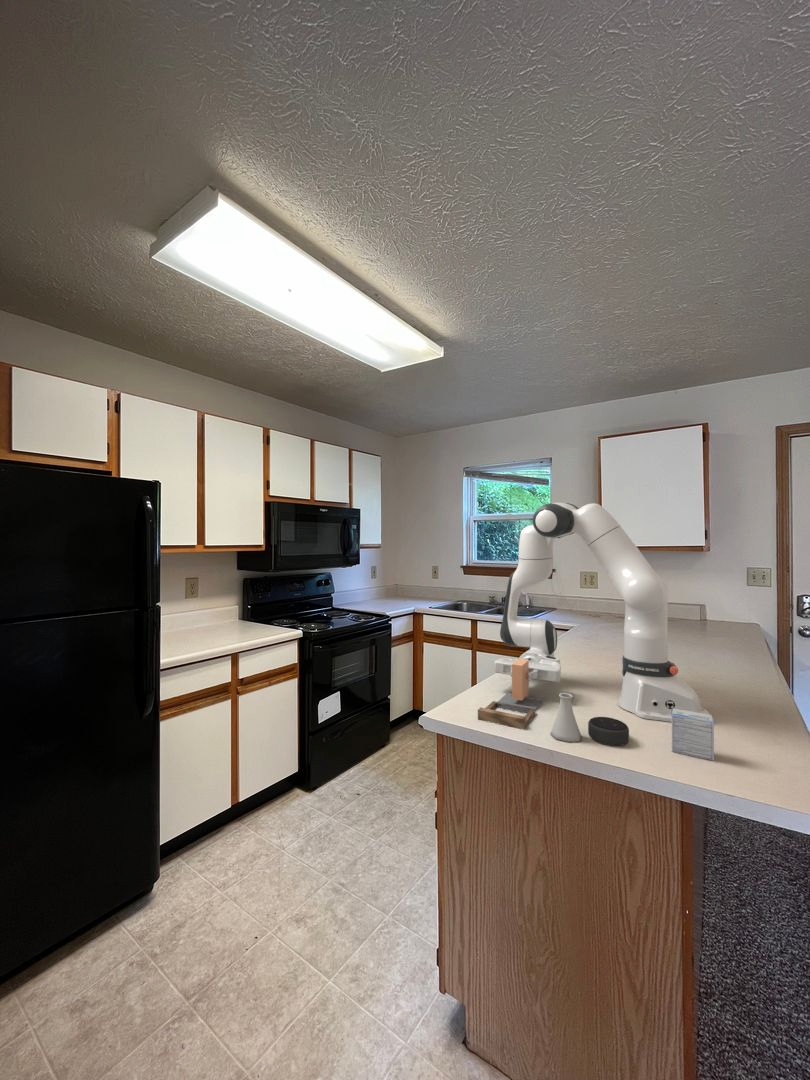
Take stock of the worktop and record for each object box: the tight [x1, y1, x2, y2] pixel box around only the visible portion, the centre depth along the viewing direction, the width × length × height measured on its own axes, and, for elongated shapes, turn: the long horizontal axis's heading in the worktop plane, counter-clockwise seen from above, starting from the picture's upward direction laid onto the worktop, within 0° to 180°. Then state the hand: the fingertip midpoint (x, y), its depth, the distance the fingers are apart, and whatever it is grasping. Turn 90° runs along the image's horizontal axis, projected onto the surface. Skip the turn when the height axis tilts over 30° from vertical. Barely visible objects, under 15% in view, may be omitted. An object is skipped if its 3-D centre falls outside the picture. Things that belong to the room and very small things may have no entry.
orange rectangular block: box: [511, 658, 530, 701], centre depth 129 cm, size 3×7×10 cm, turn 149°
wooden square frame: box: [477, 700, 537, 730], centre depth 118 cm, size 12×12×2 cm
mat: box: [497, 693, 544, 711], centre depth 129 cm, size 11×9×1 cm
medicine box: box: [671, 709, 715, 761], centre depth 98 cm, size 8×4×9 cm, turn 58°
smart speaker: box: [587, 716, 630, 747], centre depth 105 cm, size 9×9×4 cm
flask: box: [550, 692, 583, 743], centre depth 106 cm, size 7×7×10 cm
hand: (520, 675), depth 129 cm, fingers closed on orange rectangular block, 3 cm apart
